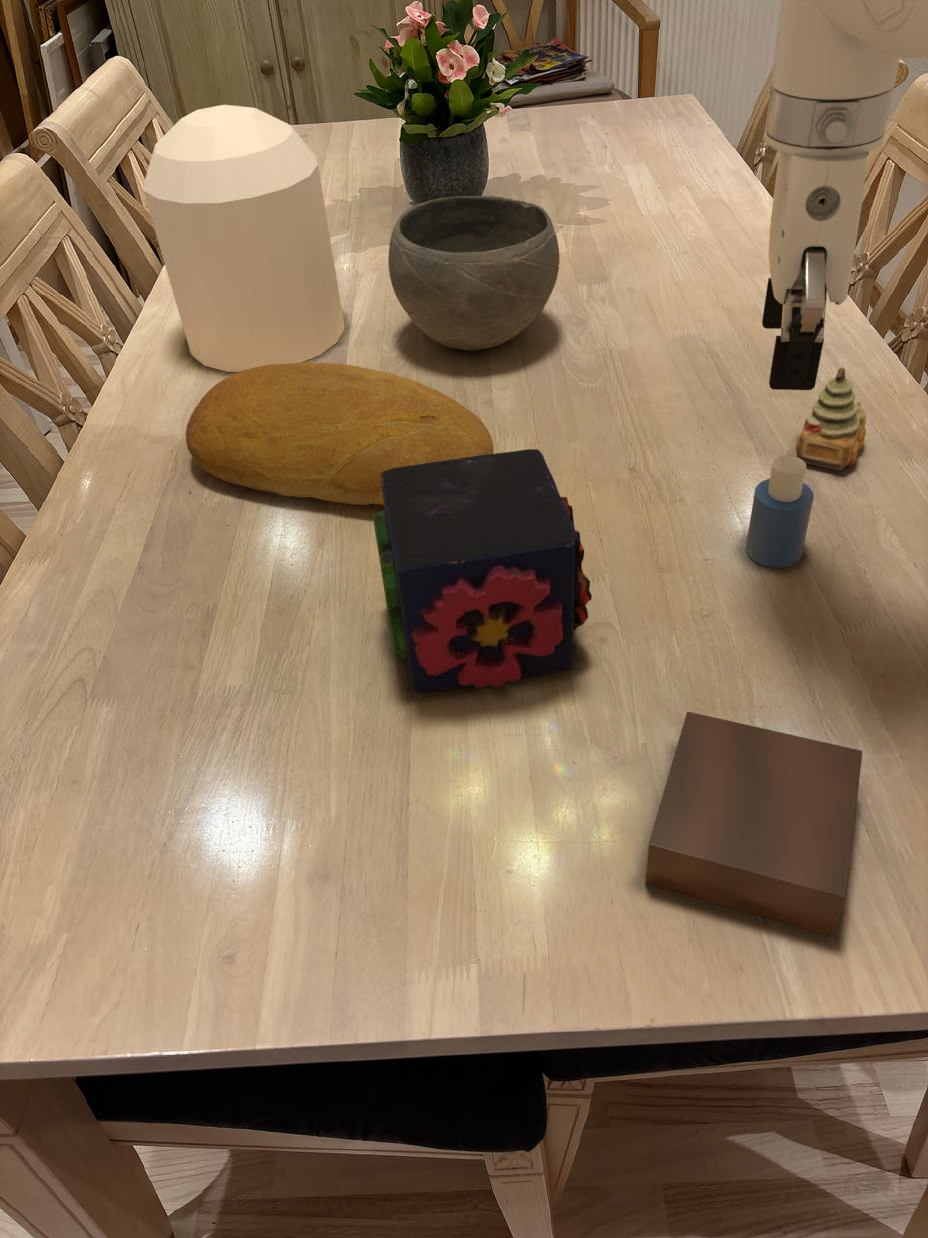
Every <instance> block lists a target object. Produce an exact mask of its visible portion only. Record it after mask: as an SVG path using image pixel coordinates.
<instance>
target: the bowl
mask: <svg viewBox="0 0 928 1238" xmlns="http://www.w3.org/2000/svg"><path fill="white" fill-rule="evenodd" d="M559 266H560V248H559V241H558V236H557V232H556V231H555V227H554V224H553V221H552V219H551V217H550V215H549V213H548V212H547V211H546V210H545V209H544V208H543V207H541V206H540V205H536V204H534V203H531V202H526V201H524V200H519V199H513V198H507V197H503V196H495V195H460V196H459V195H457V196H447V197H445V196H444V197H439V198H436V199H431V200H426V201H424V202H420V203H418V204H416V205H413V206H411V207H410V208H408V209H406V210H405V211H404V212H403V213H402V214H401V215H400V216H399V217H398V219H397V220H396V222H395V224H394V226H393V228H392V232H391V235H390V241H389V248H388V274H389V279H390V283H391V287H392V289H393V293H394V295H395V296H396V298H397V299H396V300H397V301H398V302H399V304H400V306H401V307H402V309H403V310H404V312H405V313H407V314H406V315H407V316H408V317H409V318H410V320H411V321H412V322H413V323H414V324H415V325H416V326H417V328H419V329H420V330H421V331H422V332H423V333H424V334H425V335H426V336H428V337H429V338H430V339H432V340H434V341H435V342H437V343H438V344H440V345H442V346H444V347H447V348H450V349H456V350H462V351H468V352H469V351H479V350H480V351H481V350H484V349H489V348H494V347H498V346H500V345H502V344H504V343H506V342H508V341H509V340H511V339H513V338H514V337H516V336H517V335H519V334H520V333H522V331H524V330H525V329H526V328H527V327H528V326H529V325H530V324H531V323H532V322H533V321H534V320H536V319H537V317H538V316H539V315H540V314H541V313H542V311H543V310H544V309H545V306H546V304H547V303H548V301H549V299H550V298H551V295H552V293H553V291H554V288H555V286H556V284H557V280H558V275H559V271H560V267H559Z"/></svg>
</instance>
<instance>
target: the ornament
mask: <svg viewBox="0 0 928 1238" xmlns="http://www.w3.org/2000/svg"><path fill="white" fill-rule="evenodd" d="M845 375H846V369H845V367H844V366H843V367H839V369H838V370H837V373H836V376H835V377H833V378H830V379H829V380H828V381H826V383H825V386H824V388H823V389H822V390H821V391H820V392H819V393H818V399H816V400H815V401H814V402H813V403H812V406H811V410H812V412H811V413H809V414H807V416H806V418H805V420H804V421H805V422H804V424H803V428H802V431H801V432H800V434H799V435H798V438H797V440H796V441H797V442H796V446H795V448H796V449H795V450H796V455H797V456H798V458H800V459H802V460H803V461H804V462H805V463H806V465H807V464H808V465H812V466H817V467H821V468H824V469H829V470H835V471H842V470H843V469H844V468H845V467H851V466H853V465H854V464H855V462H856V461H857V457H858V453H859V450H860V449H862V446H863V444H864V442H865V438H866V435H867V429H866V421H867V416H866V411H865V409H864V407H863V405H862V404H861V402H860V400H859V399H858V398H857V397H856V393H855V391H854V390H853V383H852V382H851V381H850V380H848V379H847V378H846V376H845Z"/></svg>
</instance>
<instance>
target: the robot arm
mask: <svg viewBox="0 0 928 1238" xmlns="http://www.w3.org/2000/svg"><path fill="white" fill-rule="evenodd" d="M775 45H776V46H775V53H774V62H773V67H772V77H771V84H770V91H769V99H768V107H767V114H766V122H765V131H764V136H763V139H764V143H765V144H766V145H767V146H768V147H770V148H771V149H773V150H775V151H777V152H779V156H778V161H777V170H776V176H775V181H774V182H775V183H774V189H773V197H772V207H771V214H770V215H771V216H770V224H769V236H768V237H769V239H768V240H769V241H768V264H769V265H768V266H769V274H770V277H768V279H767V286H766V292H765V298H764V299H765V300H764V307H763V314H762V320H761V324H762V327H763V328H764V329H766V330H767V329H768V330H771V329H772V330H775V329H776V330H780V335H775V342H774V347H773V355H772V361H771V367H770V373H769V379H768V385H769V388H770V389H771V390H775V391H776V390H780V391H781V390H783V391H812V390H813V389H814V388H815V387H816V382H817V378H818V373H819V368H820V363H821V356H822V351H823V347H824V342H825V338H824V336H825V335H824V334H825V324H826V323H825V322H826V310H827V309H826V308H827V300H829V303H834V304H835V305H836V306H840V305H842V304H843V303H845V301H846V300H847V298H848V294H849V289H850V283H851V276H852V269H853V264H854V263H853V262H854V256H855V250H856V244H857V238H858V232H859V227H860V219H861V212H862V206H863V201H864V191H865V183H866V171H867V160H868V159H867V158H868V153H869V152H871V151H873V150H876V149H878V148H879V147H881V145H882V144H883V142H884V138H885V134H886V133H885V132H886V128H887V122H888V118H889V115H890V114H889V113H890V109H891V105H892V99H893V95H894V90H895V89H894V88H895V84H896V80H897V76H898V71H899V65H900V60H901V58H902V59H903V58H904V59H918V58H925V57H928V0H781V8H780V15H779V21H778V30H777V39H776V44H775ZM827 296H828V297H827ZM827 298H828V299H827Z"/></svg>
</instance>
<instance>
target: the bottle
mask: <svg viewBox="0 0 928 1238" xmlns="http://www.w3.org/2000/svg"><path fill="white" fill-rule="evenodd" d="M806 471H807V463H805V462H804V461H803V460H802V459H800V458H799V457H797V456H793V455H782V456H778V457H776V458H775V459H774V460H773V461H772V464H771V471H770V476H769V478H767V479H765V480H762V481H760V482H759V483H758V484H757V485H756V486H755V489H754V493H753V499H752V506H751V513H750V518H749V525H748V531H747V537H746V542H745V552H746V555H747V556H748V558H749V559H750V560H751V561H753V562H754V563H756V564H757V565H760V566H763V567H766V568H774V569H783V568H788V567H791V566H793V565H795V564H797V563H798V562H799V561H800V560H801V558H802V555H803V551H804V546H805V541H806V537H807V533H808V527H809V523H810V519H811V518H810V517H811V513H812V509H813V503H814V499H815V494H814V491H813V490H812V488H811V487H810V486H809V485H807V484H806V483H805V476H806Z"/></svg>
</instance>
